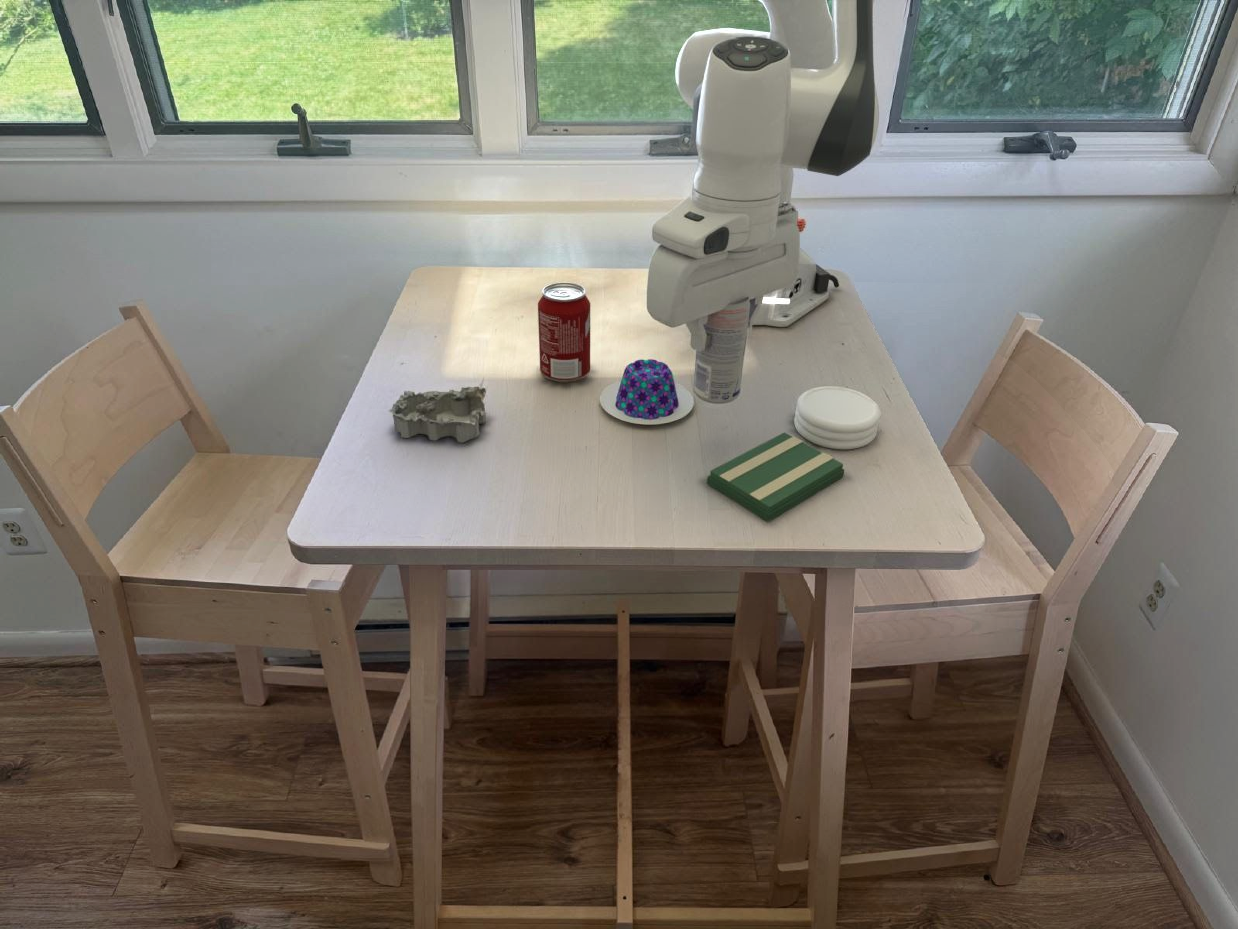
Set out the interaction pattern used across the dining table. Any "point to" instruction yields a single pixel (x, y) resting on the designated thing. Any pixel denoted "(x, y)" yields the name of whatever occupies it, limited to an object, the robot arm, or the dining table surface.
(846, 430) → the coaster
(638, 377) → the pudding
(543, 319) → the soda can
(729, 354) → the energy drink
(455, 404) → the egg carton
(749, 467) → the tea towel
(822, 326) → the dining table surface
